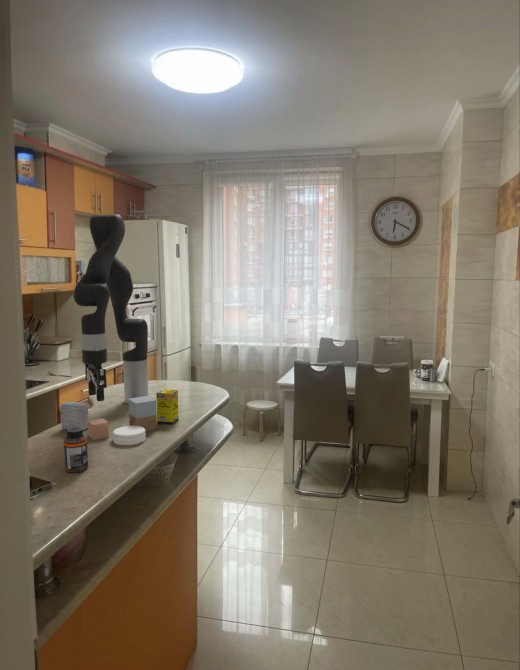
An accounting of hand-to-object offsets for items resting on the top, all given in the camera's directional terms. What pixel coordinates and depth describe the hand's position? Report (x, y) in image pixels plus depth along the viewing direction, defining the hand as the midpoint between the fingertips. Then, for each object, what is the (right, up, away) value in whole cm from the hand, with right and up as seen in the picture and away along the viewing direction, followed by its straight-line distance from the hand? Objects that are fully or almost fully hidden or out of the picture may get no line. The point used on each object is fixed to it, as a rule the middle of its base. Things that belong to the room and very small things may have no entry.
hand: (96, 397), depth 168 cm
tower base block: (+13, -12, +10) cm, 20 cm away
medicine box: (-10, -12, +10) cm, 18 cm away
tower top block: (+13, -7, +10) cm, 17 cm away
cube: (0, -13, +2) cm, 13 cm away
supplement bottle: (+2, -17, -24) cm, 29 cm away
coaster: (+11, -14, -1) cm, 17 cm away
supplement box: (+20, -11, +17) cm, 28 cm away
